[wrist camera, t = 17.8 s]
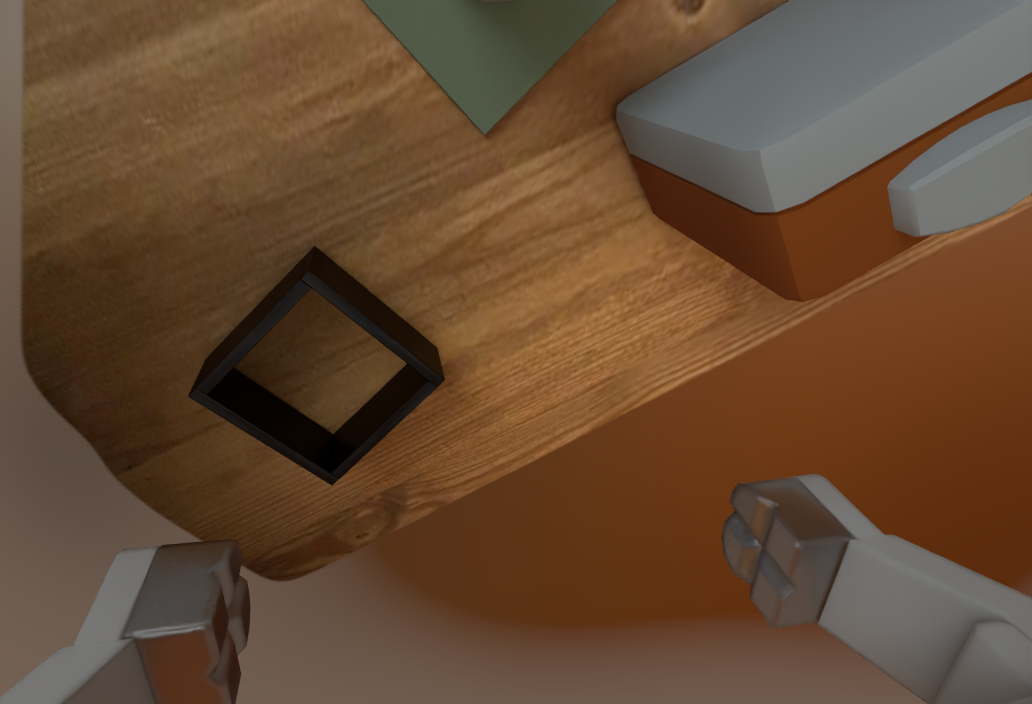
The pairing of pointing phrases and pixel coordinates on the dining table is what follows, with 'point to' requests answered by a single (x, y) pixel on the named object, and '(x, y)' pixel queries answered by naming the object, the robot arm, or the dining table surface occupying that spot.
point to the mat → (488, 45)
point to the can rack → (285, 424)
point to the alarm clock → (839, 134)
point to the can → (494, 0)
